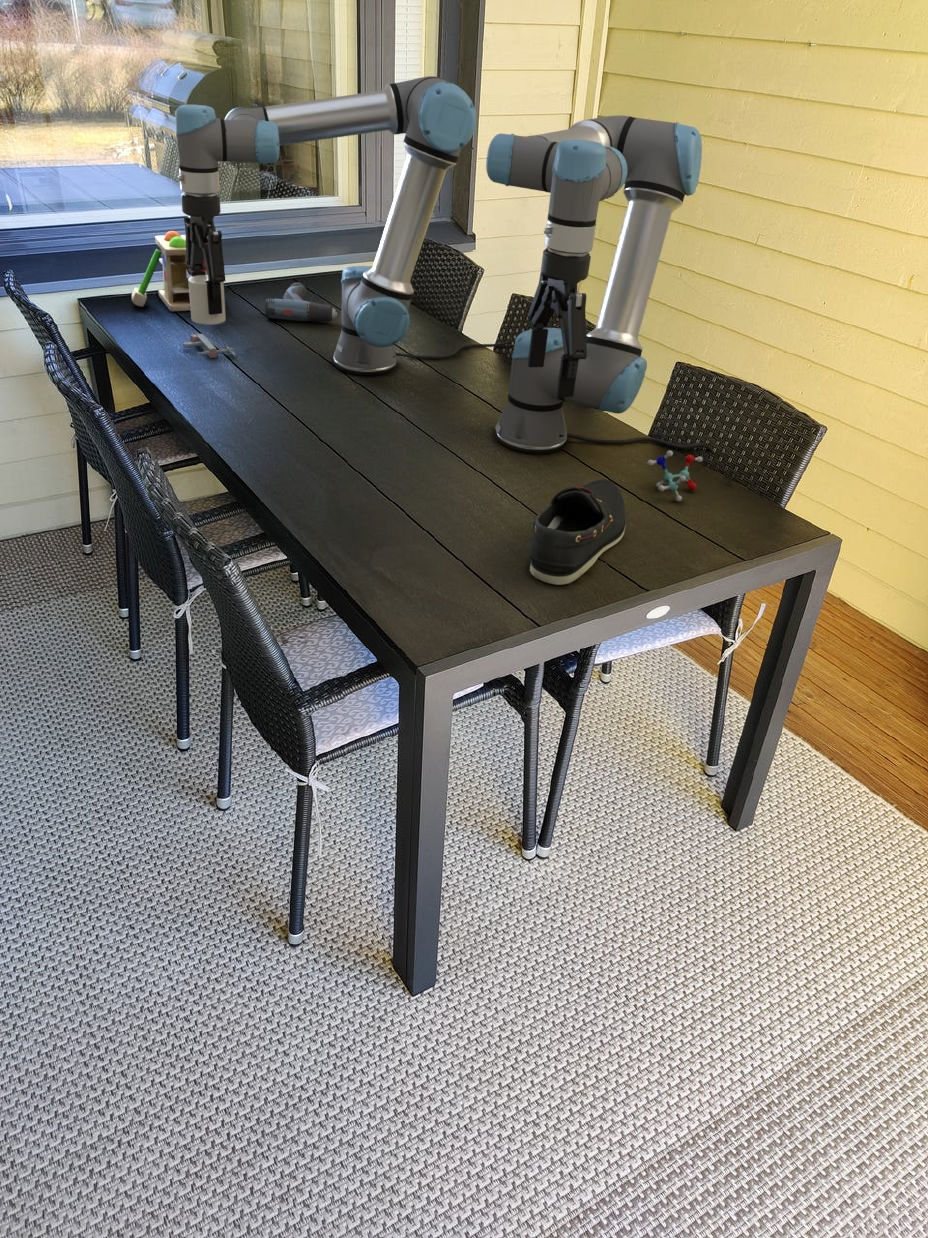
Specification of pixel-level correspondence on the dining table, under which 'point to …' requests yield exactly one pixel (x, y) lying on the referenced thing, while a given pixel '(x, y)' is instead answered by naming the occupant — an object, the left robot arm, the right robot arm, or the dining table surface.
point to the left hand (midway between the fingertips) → (208, 307)
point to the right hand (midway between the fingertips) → (549, 381)
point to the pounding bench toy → (169, 273)
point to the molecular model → (669, 477)
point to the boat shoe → (576, 531)
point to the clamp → (206, 346)
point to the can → (203, 301)
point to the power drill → (298, 307)
